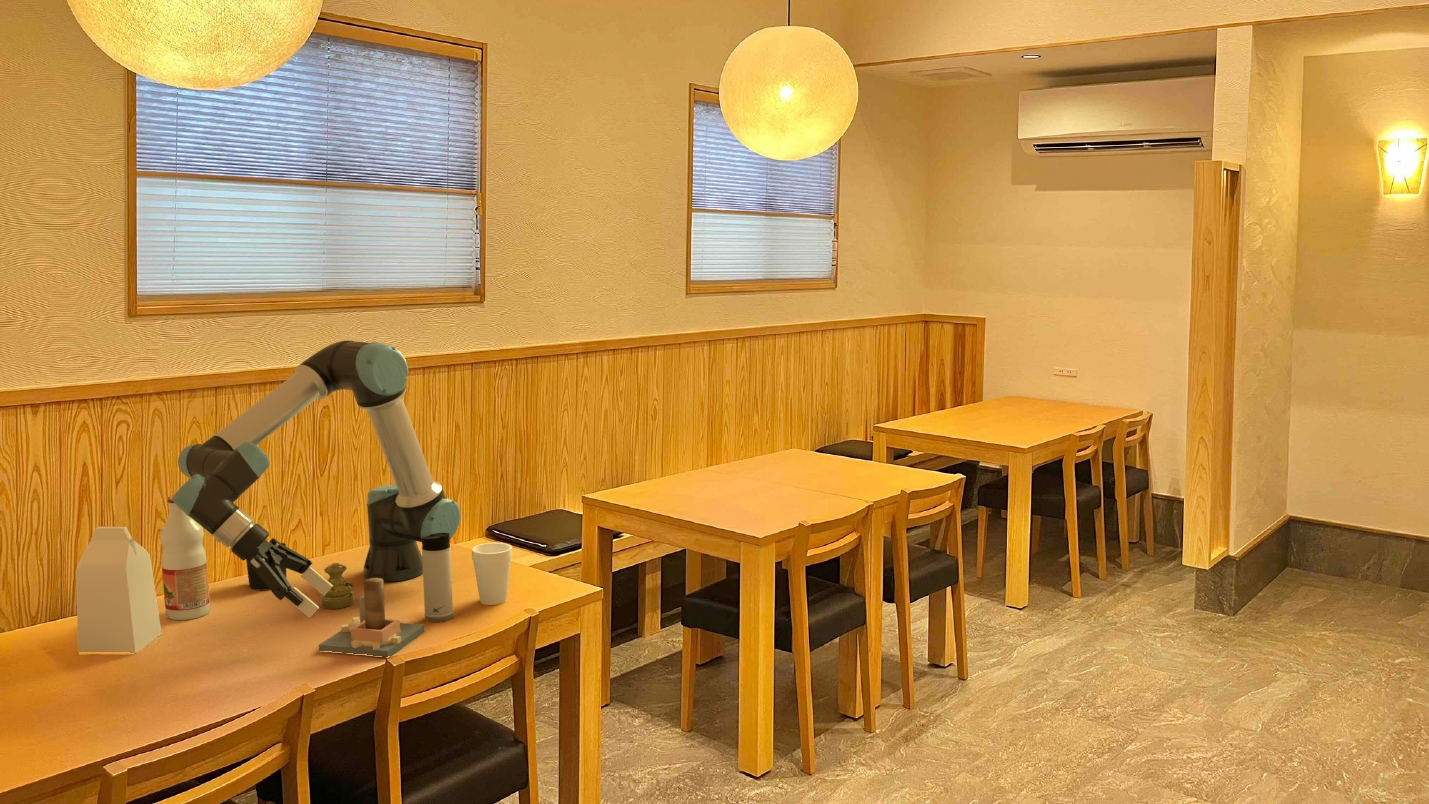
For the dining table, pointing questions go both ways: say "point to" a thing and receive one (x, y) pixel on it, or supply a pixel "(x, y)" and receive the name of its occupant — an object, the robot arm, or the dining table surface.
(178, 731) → the dining table surface
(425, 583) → the travel mug
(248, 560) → the pen holder
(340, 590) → the salt shaker
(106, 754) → the dining table surface
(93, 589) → the milk
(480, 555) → the foam cup
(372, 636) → the gear board
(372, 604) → the wooden dowel peg
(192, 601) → the fruit juice
